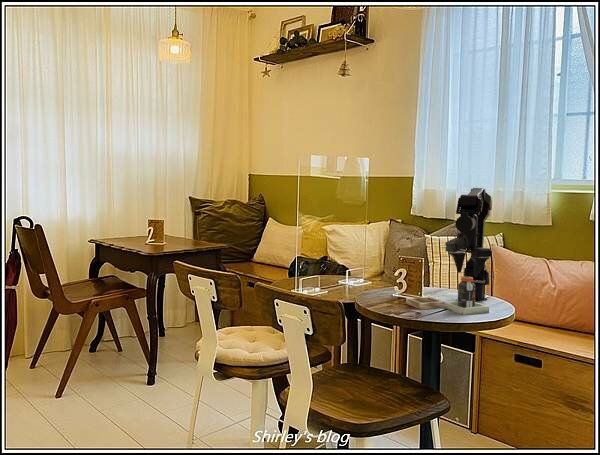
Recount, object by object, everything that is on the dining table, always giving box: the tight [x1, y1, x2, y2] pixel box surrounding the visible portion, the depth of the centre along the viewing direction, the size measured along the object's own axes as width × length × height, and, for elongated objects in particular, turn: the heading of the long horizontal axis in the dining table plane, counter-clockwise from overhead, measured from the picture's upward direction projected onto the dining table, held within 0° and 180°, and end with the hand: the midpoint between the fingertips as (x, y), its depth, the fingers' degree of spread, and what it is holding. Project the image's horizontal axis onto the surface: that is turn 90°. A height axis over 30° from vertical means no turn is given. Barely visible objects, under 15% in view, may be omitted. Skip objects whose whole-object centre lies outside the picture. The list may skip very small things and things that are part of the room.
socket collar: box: [405, 296, 445, 310], centre depth 213 cm, size 10×10×2 cm
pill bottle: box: [457, 275, 476, 308], centre depth 206 cm, size 6×6×11 cm
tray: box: [443, 300, 490, 316], centre depth 206 cm, size 11×11×2 cm
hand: (467, 274), depth 205 cm, fingers open, 9 cm apart
